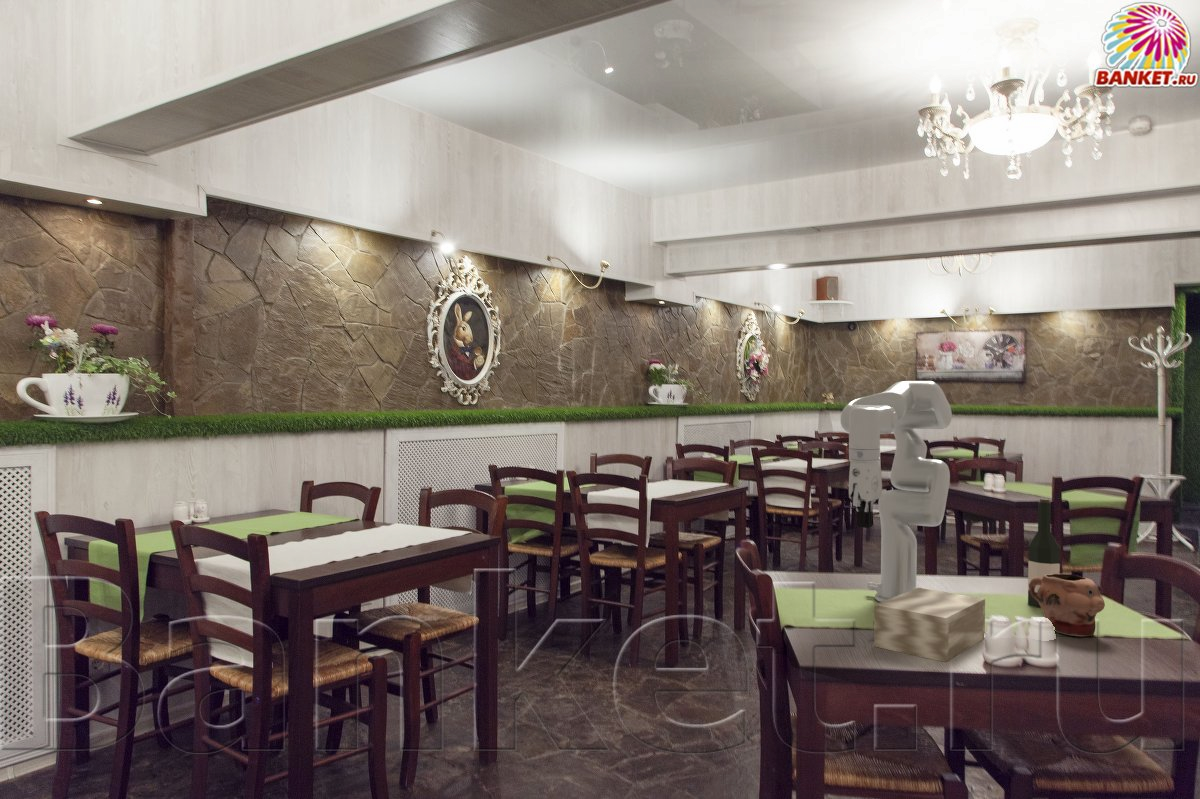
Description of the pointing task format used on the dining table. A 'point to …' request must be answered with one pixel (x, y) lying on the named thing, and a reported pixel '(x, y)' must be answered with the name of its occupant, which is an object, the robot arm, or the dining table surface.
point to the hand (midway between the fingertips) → (864, 526)
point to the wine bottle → (1042, 550)
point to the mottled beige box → (929, 623)
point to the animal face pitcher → (1068, 602)
